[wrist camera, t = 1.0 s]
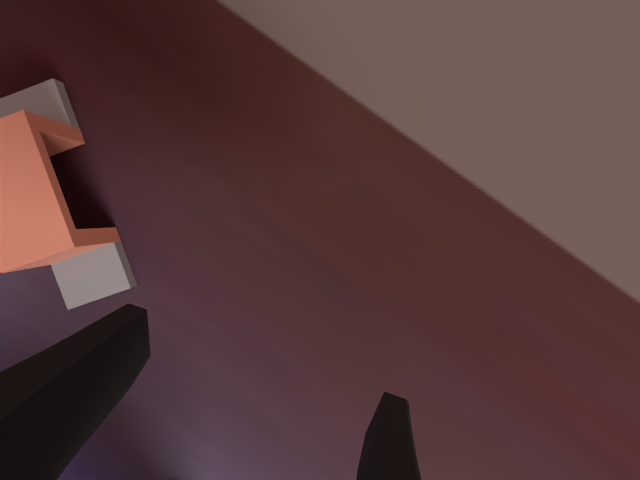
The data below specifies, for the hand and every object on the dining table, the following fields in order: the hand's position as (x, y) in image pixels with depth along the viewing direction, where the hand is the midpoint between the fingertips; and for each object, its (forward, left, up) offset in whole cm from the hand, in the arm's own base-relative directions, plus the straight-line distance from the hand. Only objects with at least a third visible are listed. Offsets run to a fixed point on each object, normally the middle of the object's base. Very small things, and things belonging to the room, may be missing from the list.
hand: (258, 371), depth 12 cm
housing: (-8, +12, -12) cm, 19 cm away
